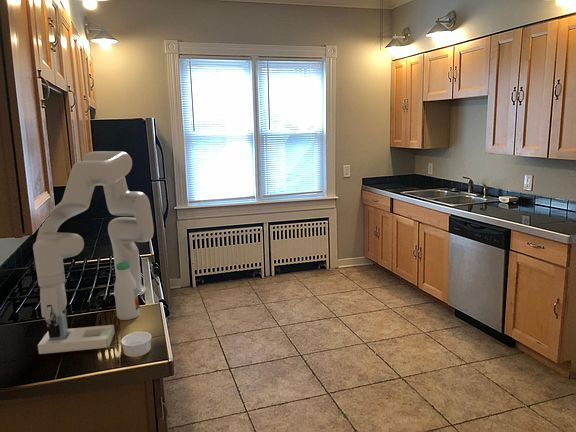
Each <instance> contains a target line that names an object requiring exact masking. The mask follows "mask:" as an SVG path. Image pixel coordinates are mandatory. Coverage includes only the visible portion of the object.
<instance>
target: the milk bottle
mask: <svg viewBox="0 0 576 432" xmlns="http://www.w3.org/2000/svg"><path fill="white" fill-rule="evenodd" d="M116 268H117V271H118V274H117V278H116V277H115V280H114V291H115V296H114V299H115V300H114V301H115V310H116V317H117V319H118V320H121V321H130V320H134V319H136V318H138V317H139V315H140V304H139V296H138V294H137V286H136V282H135V280H134V278H133V276H132V275H131V272H130V263H129V262H121V263H118V264H117V265H116ZM114 291H113V292H114Z"/></svg>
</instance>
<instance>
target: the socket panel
mask: <svg viewBox="0 0 576 432" xmlns="http://www.w3.org/2000/svg"><path fill="white" fill-rule="evenodd" d="M68 335H69V336H68V337H67V339H64V340H53V341H51V338H50V337H49V332H48V331H47V332H46V333H45V334H44V335H43V337H42V339H41V340H40V341H39V343H38V344H37V351H38V354H39V355H42V354H43V355H45V354H55V353H65V352H75V351H85V350H97V349H104V348H106V349H107V348H109V347H110V345H111V343H112V341H113V339H114V336H115V324H107V325H95V326H94V325H93V326H85V327H75V328H73V327H72V328H68Z"/></svg>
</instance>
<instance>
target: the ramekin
mask: <svg viewBox="0 0 576 432" xmlns="http://www.w3.org/2000/svg"><path fill="white" fill-rule="evenodd" d="M151 341H152V335H151V333H150V332H147V331H135V332H131V333H129V334H126V335H125V336H122V338H121V340H120V343H121V345H122V350H123V353H124V355H125V356H127V357H130V358H137V357H141V356H144V355H146V354H147V353H149V352H150V351H151V348H152V342H151Z"/></svg>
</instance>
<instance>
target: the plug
mask: <svg viewBox="0 0 576 432" xmlns="http://www.w3.org/2000/svg"><path fill="white" fill-rule="evenodd" d="M66 314H67V313H61V314H60V315H59V316H58V324H59V327H60V334H61V336H60V337H55V338H51V341H53V340H64V339H67V337H68V336H69V335H68V329H69V328H68V325H67V320H66ZM53 315H56V314H52V315H51V316H53ZM52 320H54V321H55V318H52Z"/></svg>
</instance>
